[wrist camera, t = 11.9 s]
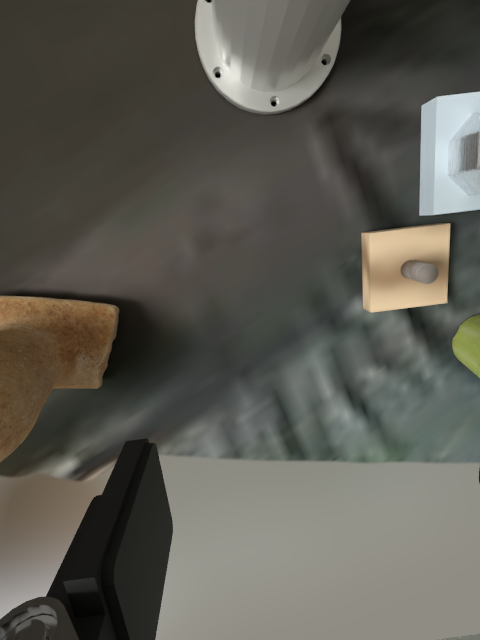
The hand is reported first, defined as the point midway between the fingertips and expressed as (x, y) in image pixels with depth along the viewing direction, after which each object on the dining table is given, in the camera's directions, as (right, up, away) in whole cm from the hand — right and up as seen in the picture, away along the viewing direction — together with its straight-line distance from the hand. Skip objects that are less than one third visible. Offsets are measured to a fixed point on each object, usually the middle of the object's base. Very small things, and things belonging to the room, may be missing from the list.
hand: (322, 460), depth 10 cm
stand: (+15, +10, +27) cm, 33 cm away
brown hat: (-23, +1, +28) cm, 36 cm away
